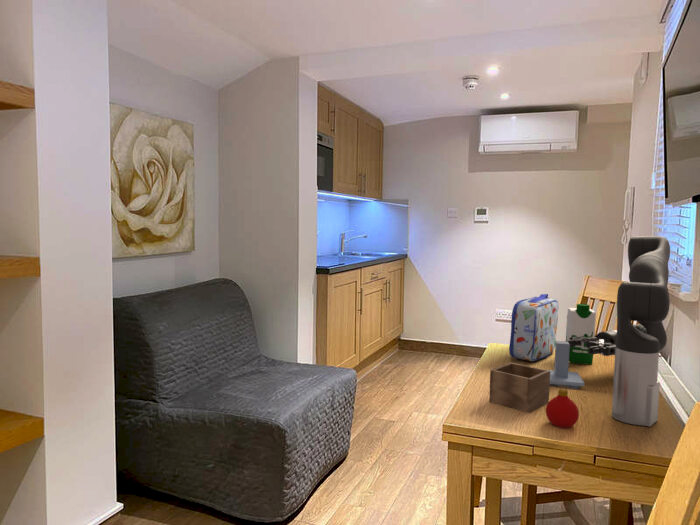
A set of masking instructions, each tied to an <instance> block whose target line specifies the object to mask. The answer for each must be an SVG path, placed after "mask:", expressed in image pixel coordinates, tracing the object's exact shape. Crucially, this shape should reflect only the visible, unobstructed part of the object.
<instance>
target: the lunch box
mask: <svg viewBox="0 0 700 525" xmlns="http://www.w3.org/2000/svg"><path fill="white" fill-rule="evenodd" d="M548 296H549V294H548V293H544V294H543V293H542V294H539V296H533V297H530V298H524V299H520V300H518V301H516V302H515V304H514V305H513V307H512V311H511V321H510V322H511V323H510V327H511V328H510V338H509V346H508V349H509V350H508V351H509V356H510V357H511V358H516V359H520V360H523V361H524V360H525V361H529V362H535V361H538V360H541V359H544V358H547V357H548V356H549V355H551V354H553V353H554V352H555V344H556V341H557V339H556V336H557V330H558V329H557V328H558V319H559V302H558V300H557V299H555V298H550V297H548Z"/></svg>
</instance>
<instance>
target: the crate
mask: <svg viewBox="0 0 700 525" xmlns="http://www.w3.org/2000/svg"><path fill="white" fill-rule="evenodd" d="M549 370H550V369H543V368H539V367H533V366H530V365H525V364H520V363H514V362H508V363H505V364H502V365H499V366H498V367H495V368H492V369H490V371H489V372H490V373H489V374H490V375H489V392H488V393H489V395H488V396H489V398H488V402H489V403H490V404H491V403H492V404H494V405H495V404H496V405H498V406H502V407H505V408H506V407H507V408H508V409H513V410H517V411H521V412H525V413H527V414H531V413H533V412H535V411H536V410H538V409H540V408H542V407H543V406H546V405H547V404H548V402H549V401H550V386H551V385H550V371H549Z"/></svg>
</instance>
